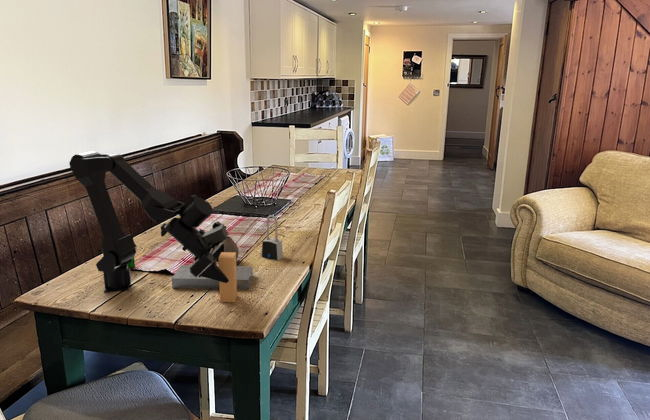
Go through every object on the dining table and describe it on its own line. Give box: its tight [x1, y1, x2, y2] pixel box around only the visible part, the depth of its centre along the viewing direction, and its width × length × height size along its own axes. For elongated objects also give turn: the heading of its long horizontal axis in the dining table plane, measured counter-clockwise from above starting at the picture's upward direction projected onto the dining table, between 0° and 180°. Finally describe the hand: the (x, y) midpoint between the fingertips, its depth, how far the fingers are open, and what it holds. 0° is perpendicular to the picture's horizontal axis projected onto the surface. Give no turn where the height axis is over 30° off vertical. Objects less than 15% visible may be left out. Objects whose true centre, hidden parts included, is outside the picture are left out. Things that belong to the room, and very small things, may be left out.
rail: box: [171, 264, 254, 290], centre depth 144 cm, size 22×10×3 cm, turn 91°
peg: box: [218, 252, 238, 303], centre depth 132 cm, size 4×4×13 cm
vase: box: [221, 235, 239, 261], centre depth 157 cm, size 7×7×9 cm
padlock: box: [260, 214, 284, 261], centre depth 162 cm, size 7×4×15 cm, turn 65°
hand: (230, 274), depth 132 cm, fingers open, 9 cm apart
